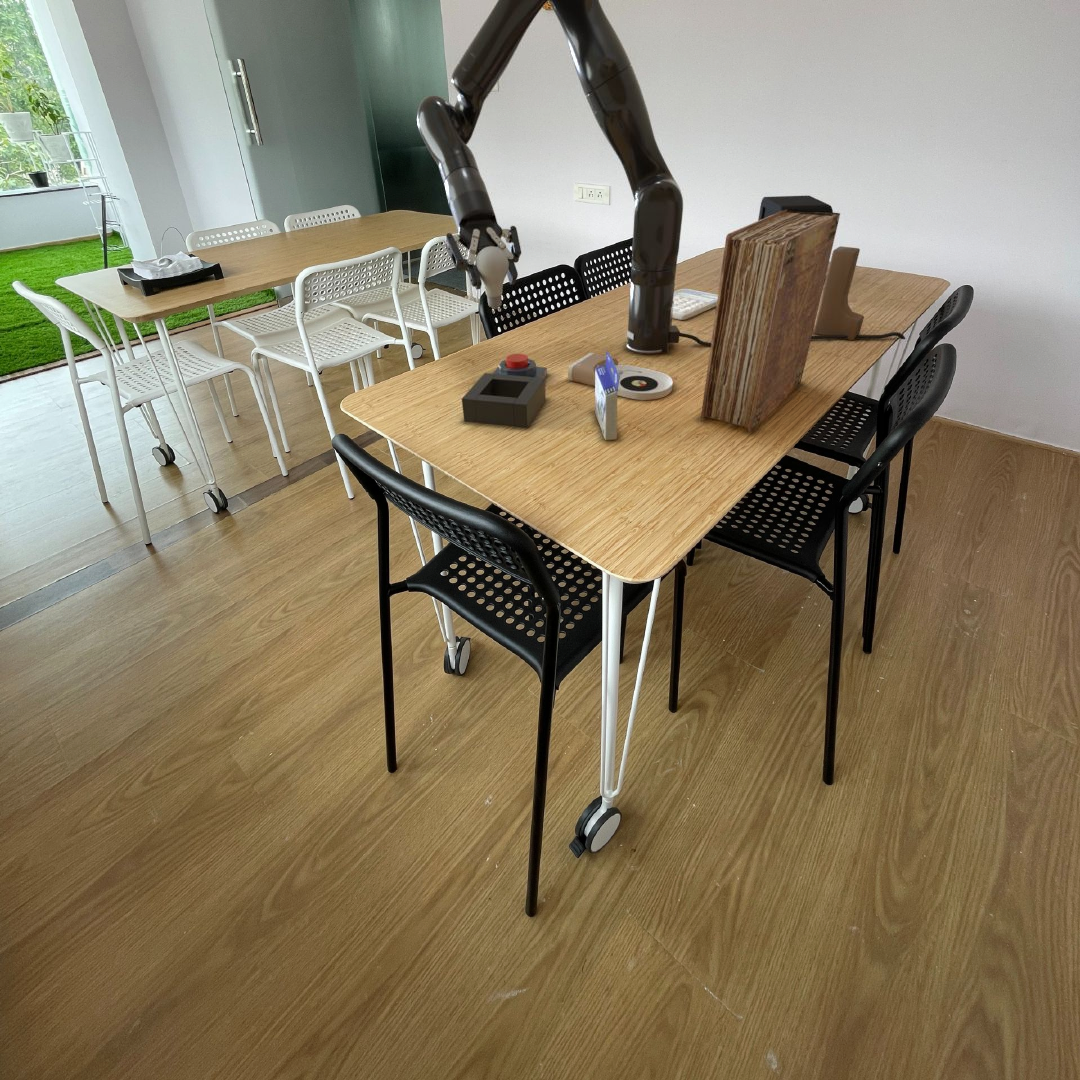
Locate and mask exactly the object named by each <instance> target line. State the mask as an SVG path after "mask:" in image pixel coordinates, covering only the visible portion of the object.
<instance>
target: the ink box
mask: <svg viewBox="0 0 1080 1080" xmlns="http://www.w3.org/2000/svg"><path fill="white" fill-rule="evenodd" d="M605 353H606V354H605V356H606V365H603V366H601V367H598V368H596V369H595V386H594V414H595V416H596V420H597V422H598V425H599V427H600V429H601V433H602V436H603V438H604V440H605V441H613V440H614V441H615V440H617V439H618V395H617V392H618V386H619V379H620V375H619V373H618V371H617V369H616V367H615V365H614V362H613V360H612V358H613V357H612V356H611V354H610V353H609V351H608V349H607V350H605ZM611 357H612V358H611ZM611 368H613V372H614V375H613V373H612V371H611Z"/></svg>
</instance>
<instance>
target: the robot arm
mask: <svg viewBox="0 0 1080 1080" xmlns="http://www.w3.org/2000/svg"><path fill="white" fill-rule="evenodd" d="M547 2H549V5H550V7H551V8H552V10H553V12H554V14H555V16H556V18H557V20H558V22H559V24H560V26H561V28H562V30H563V32H564V35H565V38H566V40H567V45H568V47H569V51H570V54H571V58H572V61H573V66H574V69H575V71H576V74H577V76H578V80H579V82H580V85H581V88H582V91H583V94H584V96H585V98H586V100H587V103H588V105H589V108H590V110H591V112H592V114H593V117H594V119H595V120H596V122H597V125H598V127H599V129H600V130H601V132H602V134H603V135H604V137H605V139H606V140H607V142H608V144H609V145H610V147H611V149H612V151H613V152H614V153H615V155H616V156H617V157H618V160H619V161H620V164H621V165H622V168H623V170H624V173H625V175H626V178H627V181H628V184H629V187H630V190H631V193H632V197H633V201H634V210H633V211H634V212H633V213H634V214H633V216H634V217H633V233H632V246H631V247H632V248H631V251H632V252H631V271H630V285H629V286H630V288H629V303H628V304H629V305H628V319H627V320H628V322H627V330H626V340H627V341H626V349H627V350H628V351H630V352H632V353H635V354H640V355H659V354H667V353H668V351H669V348H670V344H679V342H680V338H686V339H690V340H693V341H695V342H696V343H697V344H699V345H700V346H705V347H711V342H708V341H703V340H701V339H700V338H698V337H697V336H695V335H692V334H689V333H683V332H681V331H680V329H679V328H678V326H677V325H673V318H672V316H673V306H674V302H673V296H674V292H675V285H676V273H677V266H678V265H677V264H678V257H679V251H680V241H681V232H682V223H683V214H684V213H683V212H684V198H683V194H682V189H681V188H680V186H679V184H678V182H677V181H676V180H675V178H674V176H673V174H672V172H671V170H670V168H669V166H668V165H667V163H666V161H665V158H664V157H663V155H662V153H661V151H660V147H659V146H658V143H657V140H656V138H655V134H654V130H653V126H652V122H651V118H650V115H649V111H648V107H647V104H646V100H645V98H644V95H643V91H642V89H641V86H640V83H639V80H638V78H637V76H636V73H635V70H634V67H633V65H632V62H631V60H630V58H629V56H628V54H627V51H626V49H625V48H624V45H623V43H622V42H621V39H620V38H619V36H618V34H617V32H616V31H615V28H614V27H613V25H612V24H611V22H610V20H609V19H608V16H607V15H606V13H605V12H604V10H603V6H602V5H601V3H600V0H497V2H496V4H495V5H494V6H493V8H492V10H491V11H490V13H489V14H488V16H487V18H486V19H485V21H484V23H482V25H481V27H480V28H479V30H478V31H477V33H476V35H475V36H474V37H473V39H472V41H471V42H470V44H469V45H468V47H467V49H466V50H465V51H464V53H463V54H462V57H461V58H460V60H459V61H458V63H457V65H456V66H455V68H454V70H453V71H452V74H451V84H452V85H453V87H454V89H455V90H456V91H457V93H458V95H457V98H456V102H455V104H454V105H452V104H451V102H449V101H448V100H446V99H445V98H444V97H442V96H439V95H437V94H431V95H428V96H426V97H424V98H423V99H422V100H421V102H420V104H419V105H418V108H417V116H416V121H417V127H418V131H419V134H420V137H421V138H422V140H423V143H424V144H425V146H426V148H427V149H428V152H429V153H430V155H431V157H432V158H433V159H434V162H435V164H436V165H437V166H438V169H439V172H440V176H441V180H442V183H443V186H444V188H445V189H444V190H445V195H446V198H447V204H448V207H449V209H450V213H451V215H452V217H453V220H454V221H453V222H454V224H455V226H456V230H457V231H458V233H457V234H452V233H450V232H448V233H446V235H445V240H444V247H445V249H446V251H447V253H448V255H449V258H450V259H451V261H452V264H453V266H454V268H455V270H457V271H461V270H464V271H465V272H467V276H468V278H469V281H470V284H471V286H472V287H473V288H474V287H475V290H481V288H482V286H483V282H482V280H481V278H480V276H479V273H478V269H477V266H476V265H475V261H476V256H477V255H478V253H479V252H480V251H481V250H482V249H484V248H485V247H489V246H494V247H497V248H500V249H501V250H502V251H503V252H504V253H505V254H506V256H507V258H508V262H509V268H508V272H507V274H506V277H507V279H508V281H509V284H510V285H515V283H516V282H517V279H518V276H519V273H518V270H517V267H516V263H518V262H519V260H520V257H521V255H522V248H521V243H520V239H519V233H518V229H517V227H516V226H515V225H511V226H510V227H509V228H502V226H500V225H499V223H498V221H497V216H496V213H495V210H494V207H493V205H492V204H493V203H492V201H491V198H490V195H489V193H488V189H487V187H486V184H485V181H484V180H483V178H482V175H481V173H480V169H479V166H478V164H477V160H476V158H475V154H474V153H473V151H472V150H471V149H470V147H469V146H468V144H469V142H470V141H471V139H472V136H473V134H474V132H475V128H476V126H477V124H478V121H479V118H480V115H481V113H482V110H483V106H484V104H485V101H486V100H487V98H488V97H489V95H490V94H491V92H492V91H493V90H494V89H495V86H496V85H497V84H498V82H499V81H500V79H501V78H502V76H503V75H504V72H505V71H506V69H507V68H508V66H509V64H510V63H511V61H512V59H513V57H514V55H515V53H516V51H517V49H518V47H519V45H520V44H521V42H522V40H523V38H524V36H525V34H526V33H527V31H528V29H529V28H530V26H531V25H532V23H533V21H534V20H535V18H536V17H537V15H538V14H539V13H540V11H541V10H542V9H543V7H544V6H545V5H546V4H547ZM502 237H503V238H504V239H505V241H506V243H508V245H509V246H508V247H509V249H508V248H507V245H506V243H505V242H504V241H503V239H502ZM459 244H461V245H462V246H463V247H464V248H465V249H467V250H468V251H467V257H466V258H464V256H463V255H462V252H461V251H460V248H459ZM890 337H898V338H899V339H900V340H906V336H905V335H904V334H902V333H901V332H898V331H892V332H888V333H884V334H859V335H856V337H855V339H858V340H859V339H861V340H867V339H868V340H872V339H873V340H876V339H877V340H878V339H884V338H890ZM844 338H848V336H847V335H820V334H816V335H812V337H811V340H832V339H833V340H835V339H837V340H839V339H841V340H842V339H843V340H845V339H844ZM855 339H854V340H855Z"/></svg>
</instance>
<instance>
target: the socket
mask: <svg viewBox="0 0 1080 1080" xmlns="http://www.w3.org/2000/svg"><path fill="white" fill-rule="evenodd" d="M546 398H547V397H546V377H545V378H538V377H526V376H514V375H502V374H492V373H489V372H484V373H483V374H482V375H481V377H480V378H479V379H477V381H476V382H475V383H474V385H472V387H471V388H470V389H469V390H468V391H467V392H466V393H465V394H464V396H462V398H461V407H462V415H463V422H464V423H470V424H471V423H473V424H481V425H483V424H484V425H493V426H501V427H503V426H504V427H511V428H521V429H528V428H529V427H530V425H531V424H532V422H533V421H534V419H535V418H536V416H537V415H538V413H539V411H540V410H541V408H542V407H543V405H544V404H545V402H546V400H547V399H546Z"/></svg>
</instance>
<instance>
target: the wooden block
mask: <svg viewBox="0 0 1080 1080" xmlns="http://www.w3.org/2000/svg"><path fill="white" fill-rule="evenodd" d="M860 252H861V249H860V248H858V247H850V246H838V247H836V248H835V249H833V250H832V252H831V256H830V261H829V265H828V269H827V273H826V277H825V282H824V286H823V290H822V294H821V299H820V303H819V307H818V311H817V316H816V320H815V324H814V328H813V333H814V334H815V335H847V336H848V338H844V339H843V340H849V341H854V340H855V337H856V335H860V333H861V330H862V327H863V322H864V319H865V316H864V315H863V314H861V313H857V312H854V311H853V310H852V309H851V307H850V305H849V294H850V290H851V286H852V282H853V278H854V274H855V270H856V267H857V263H858V259H859V255H860Z"/></svg>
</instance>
